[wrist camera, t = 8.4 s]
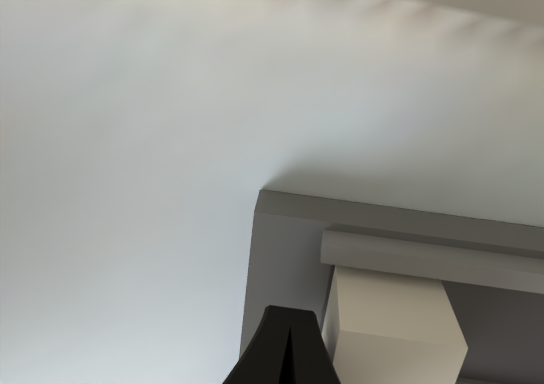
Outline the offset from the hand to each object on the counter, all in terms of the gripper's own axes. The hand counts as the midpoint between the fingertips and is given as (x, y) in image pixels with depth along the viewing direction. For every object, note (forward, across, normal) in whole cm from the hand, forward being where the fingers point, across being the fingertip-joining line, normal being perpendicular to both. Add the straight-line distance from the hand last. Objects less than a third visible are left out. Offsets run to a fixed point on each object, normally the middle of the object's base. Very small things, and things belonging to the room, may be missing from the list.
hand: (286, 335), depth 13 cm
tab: (+1, -3, 0) cm, 3 cm away
